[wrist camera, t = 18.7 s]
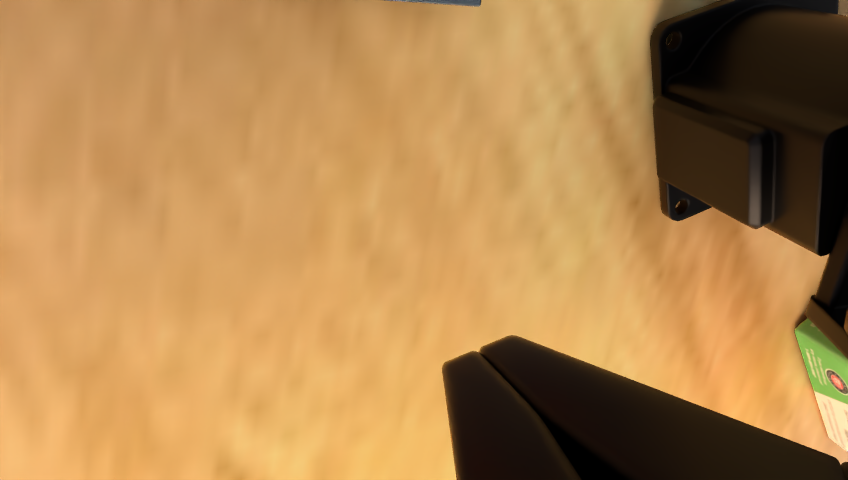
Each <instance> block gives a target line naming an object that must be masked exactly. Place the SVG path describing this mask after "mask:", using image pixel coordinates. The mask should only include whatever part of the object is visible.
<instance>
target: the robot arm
mask: <svg viewBox="0 0 848 480" xmlns="http://www.w3.org/2000/svg"><path fill="white" fill-rule="evenodd" d="M838 2H839V0H721V1H718V2H715V3H713V4H710V5H707V6H704V7H702V8H699V9H696V10H693V11H690V12H688V13H685V14H682V15H679V16H677V17H674V18H671V19H668V20H665V21H663V22H661V23H660V24H658V25H657V26H656V28H655V29H654V30H653V33H652V35H651V40H650V49H651V64H652V80H653V95H654V104H653V117H654V132H655V147H656V162H657V175H658V177H659V186H660V201H661V210H662V213H663V214H664V215H666V216H667V217H669V218H671V219H672V220H675V221H680V220H684V219H686V218H688V217H691V216H693V215H695V214H697V213H700V212H702V211H704V210H707V209H709V208H711V207H714V208H715V209H717V210H719V211H721V212H723V213H725V214H727V215H728V216H730V217H732V218H734V219H736V220H738V221H740V222H742V223H743V224H745V225H747V226H749V227H751V228H754V229H758V228H760V227H762V226H764V227H766V228H768V229H770V230H772V231H774V232H775V233H777V234H779V235H781V236H783V237H785V238H787V239H789V240H791V241H793V242H794V243H796V244H798V245H800V246H802V247H804V248H806V249H808V250H810V251H812V252H814V253H815V254H817V255H819V256H824V255H827V254H829V253H830V254H829V257H828V260H827V263H826V266H825V269H824V272H823V275H822V278H821V281H820V284H819V287H818V290H817V292H816V295H812V296H811V298H810V301H809V304H808V307H807V310H806V313H805V315H806V316H807V318H808V319H809V320H810V321H811V322H812V323H813V324H814V325H815V326H816V327H817V328H818V329H819V330H820V331H821V332H822V333H823V334H824V335H825V336H826V337H827V338H828V339H829V340H830V341H831V342H832V343H833V344H834V345H835V346H836V347H837V349H838V350H839V351H840V352H841V353H842V354H843V355H844V356H845V357H846V358H847V359H848V16H843V15H838ZM671 33H672V40H671V42H670V43H669V45H666V40H667V37H668V36H669V34H671ZM679 201H680V204H679V205H678V207H676V205H677V203H678V202H679ZM675 207H676V208H675ZM442 373H443V381H444V388H445V396H446V403H447V410H448V418H449V425H450V433H451V440H452V448H453V455H454V463H455V470H456V478H457V480H848V462H844V463H842V464H841V465H840V463H839V461H838V460H837V459H836V458H835V457H833V456H830V455H827V454H825V453H822V452H819V451H817V450H814V449H812V448H809V447H806V446H804V445H801V444H798V443H796V442H793V441H791V440H788V439H785V438H783V437H780V436H778V435H775V434H772V433H770V432H767V431H764V430H762V429H759V428H757V427H754V426H751V425H749V424H746V423H744V422H741V421H738V420H736V419H733V418H730V417H728V416H725V415H723V414H720V413H717V412H715V411H712V410H709V409H707V408H704V407H702V406H699V405H696V404H694V403H691V402H689V401H686V400H683V399H681V398H678V397H675V396H673V395H670V394H668V393H665V392H662V391H660V390H657V389H654V388H652V387H649V386H647V385H644V384H641V383H639V382H636V381H634V380H631V379H628V378H626V377H623V376H620V375H618V374H615V373H613V372H610V371H607V370H605V369H602V368H599V367H597V366H594V365H592V364H589V363H586V362H584V361H581V360H579V359H576V358H573V357H571V356H568V355H565V354H563V353H560V352H558V351H555V350H552V349H550V348H547V347H544V346H542V345H539V344H537V343H534V342H531V341H529V340H526V339H524V338H521V337H518V336H512V335H511V336H507V337H504V338H502V339H500V340H497V341H495V342H492V343H490V344H488V345H485V346H483V347H482V348H481V349H480V351H479V353H478V352H474V351H472V352H469V353H466V354H464V355H461V356H459V357H457V358H454V359H452V360H449V361H447V362H445V363H444V364H443V367H442Z"/></svg>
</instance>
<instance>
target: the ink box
mask: <svg viewBox="0 0 848 480" xmlns="http://www.w3.org/2000/svg"><path fill="white" fill-rule="evenodd" d="M795 335H796V338H797V341H798V343H799V347H800V350H801V353H802V357H803V360H804V363H805V366H806V369H807V372H808V375H809V378H810V381H811V384H812V387H813V390H814V394H815V396H816V400H817V403H818V406H819V409H820V412H821V415H822V418H823V422H824V425H825V428H826V431H827V434H828V437H829V438H830V439H831V440H832V441H834V442H835V443H836V444H838V445H839V446H840V447H842V448H843V449H844V450H845V451H847V452H848V359H847V358H846V357H845V356H844V355H843V354H842V353H841V352H840V351H839V350H838V349H837V347H836V346H835V345H834V344H833V343H832V342H831V341H830V340H829V339H828V338H827V337H826V336H825V335H824V334H823V333H822V332H821V331H820V330H819V329H818V328H817V327H816V326H815V325H814V324H813V323H812V322H811V321H810V320H809V319H808V318H807V319H806V320H805V321H804V322H802V323H801V324H800V325H799V326H798V327H797V328H795Z"/></svg>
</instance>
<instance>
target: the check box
mask: <svg viewBox="0 0 848 480" xmlns="http://www.w3.org/2000/svg"><path fill="white" fill-rule="evenodd" d="M386 1H401V2H416V3H430V4H445V5H460V6H474V7H479V6H480V5H481V0H386Z"/></svg>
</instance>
